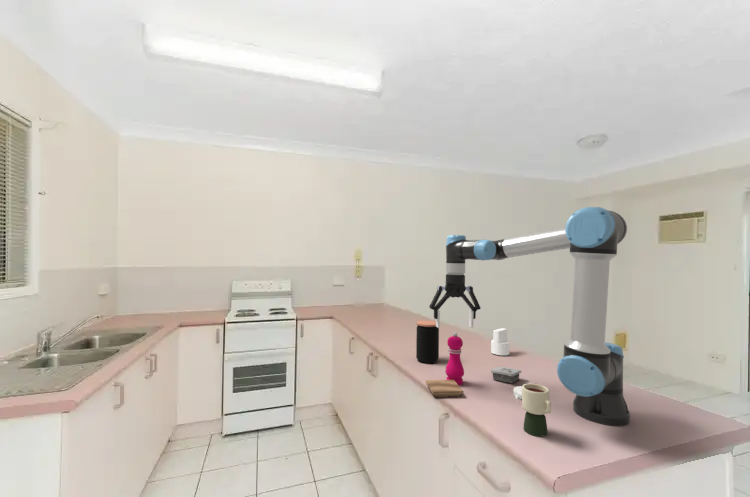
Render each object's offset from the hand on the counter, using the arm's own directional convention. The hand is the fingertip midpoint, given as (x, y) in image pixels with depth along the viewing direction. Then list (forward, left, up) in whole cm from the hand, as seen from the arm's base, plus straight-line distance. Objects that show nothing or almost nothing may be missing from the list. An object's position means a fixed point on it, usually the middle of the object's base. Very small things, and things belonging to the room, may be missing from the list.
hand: (454, 327), depth 137 cm
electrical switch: (-1, -25, -22) cm, 34 cm away
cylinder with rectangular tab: (+39, -37, -22) cm, 58 cm away
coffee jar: (+29, +4, -22) cm, 37 cm away
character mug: (-39, -11, -22) cm, 46 cm away
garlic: (-16, -21, -23) cm, 34 cm away
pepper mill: (0, 0, -22) cm, 22 cm away
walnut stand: (-9, +7, -22) cm, 25 cm away
